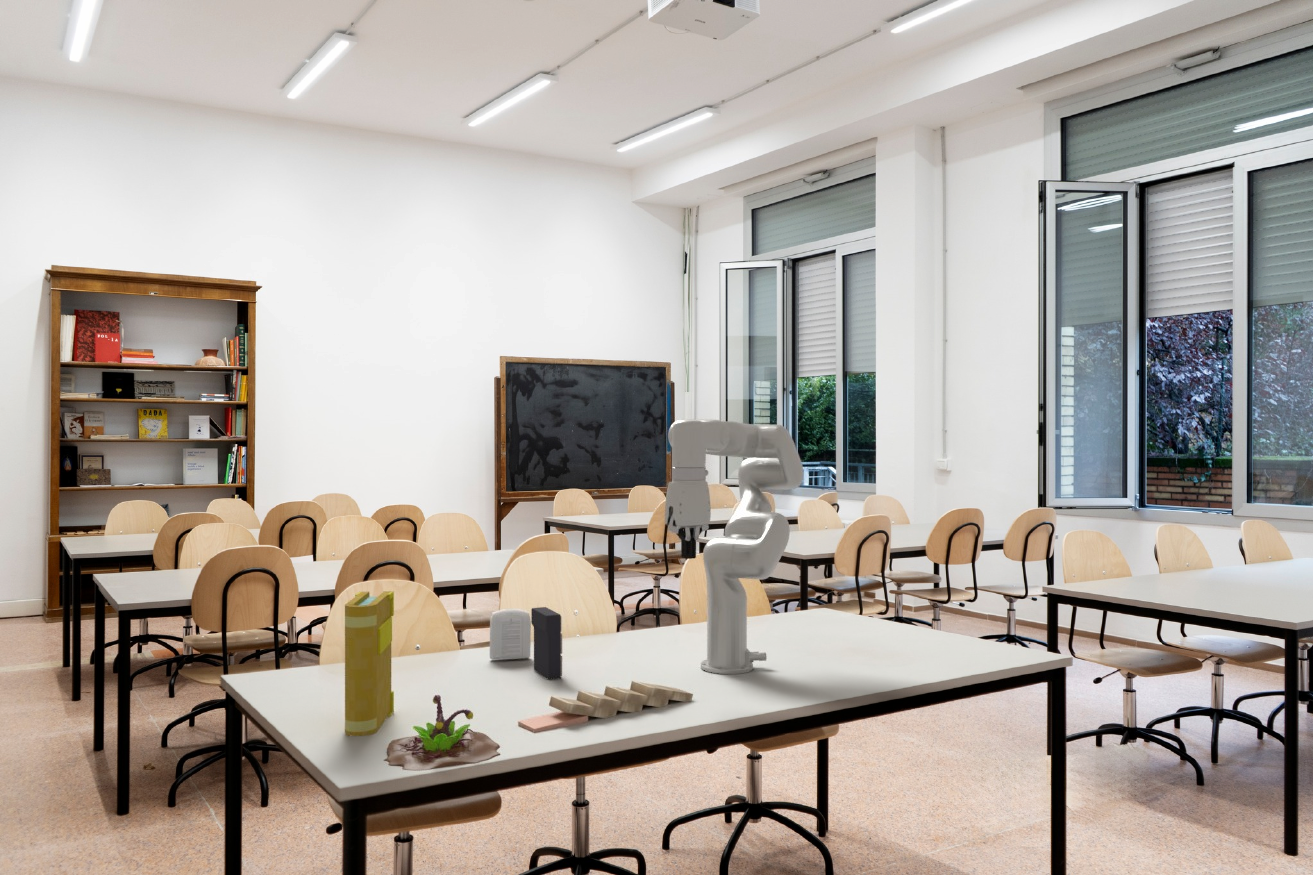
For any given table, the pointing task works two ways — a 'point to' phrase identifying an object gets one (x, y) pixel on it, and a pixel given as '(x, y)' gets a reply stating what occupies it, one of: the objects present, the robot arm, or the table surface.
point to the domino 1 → (552, 721)
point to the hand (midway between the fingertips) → (688, 557)
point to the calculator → (547, 642)
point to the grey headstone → (510, 634)
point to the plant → (441, 745)
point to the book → (368, 662)
